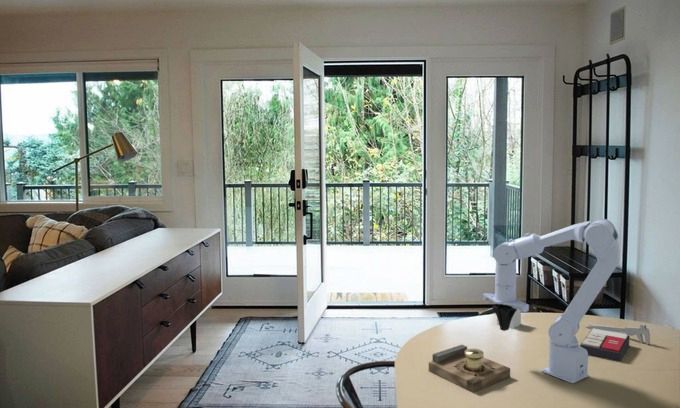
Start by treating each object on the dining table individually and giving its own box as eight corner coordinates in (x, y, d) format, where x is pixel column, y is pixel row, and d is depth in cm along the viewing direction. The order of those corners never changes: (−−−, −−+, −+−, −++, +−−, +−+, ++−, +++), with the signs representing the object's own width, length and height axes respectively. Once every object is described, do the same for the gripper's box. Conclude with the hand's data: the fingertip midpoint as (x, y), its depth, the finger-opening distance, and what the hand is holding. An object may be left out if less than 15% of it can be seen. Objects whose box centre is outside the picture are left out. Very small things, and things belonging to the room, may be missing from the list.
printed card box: (579, 342, 160) (591, 326, 172) (579, 356, 161) (591, 338, 173) (620, 350, 154) (629, 333, 165) (620, 364, 154) (629, 346, 166)
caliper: (649, 345, 167) (650, 325, 166) (647, 346, 166) (649, 326, 165) (587, 327, 183) (587, 309, 182) (585, 328, 183) (586, 310, 182)
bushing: (486, 377, 145) (487, 352, 144) (474, 382, 142) (475, 357, 141) (472, 371, 149) (472, 346, 148) (460, 375, 146) (460, 351, 145)
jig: (510, 377, 145) (510, 361, 144) (472, 392, 136) (472, 375, 136) (465, 358, 158) (465, 343, 157) (428, 370, 149) (428, 355, 149)
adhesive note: (513, 328, 182) (513, 311, 182) (496, 325, 186) (497, 308, 186) (520, 324, 187) (521, 307, 186) (504, 320, 191) (505, 304, 190)
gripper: (476, 281, 157) (475, 325, 158) (518, 291, 145) (516, 340, 146) (492, 277, 161) (491, 320, 162) (534, 287, 149) (532, 334, 150)
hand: (504, 329), depth 155 cm, fingers closed
